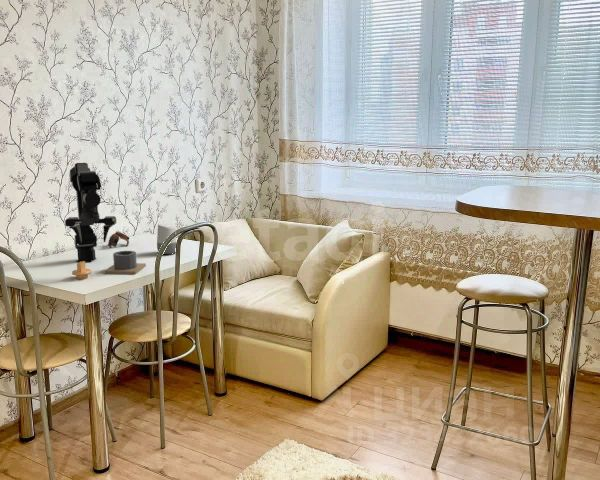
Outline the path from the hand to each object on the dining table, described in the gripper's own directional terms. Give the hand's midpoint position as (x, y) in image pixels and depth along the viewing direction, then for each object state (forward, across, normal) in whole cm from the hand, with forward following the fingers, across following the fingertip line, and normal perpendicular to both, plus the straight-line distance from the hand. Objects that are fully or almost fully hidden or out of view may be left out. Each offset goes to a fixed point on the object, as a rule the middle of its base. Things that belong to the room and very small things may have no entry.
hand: (92, 242), depth 239 cm
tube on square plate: (+14, +11, +6) cm, 19 cm away
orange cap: (+14, -4, -4) cm, 15 cm away
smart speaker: (+14, +26, +34) cm, 45 cm away
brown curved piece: (+13, +1, +52) cm, 54 cm away
